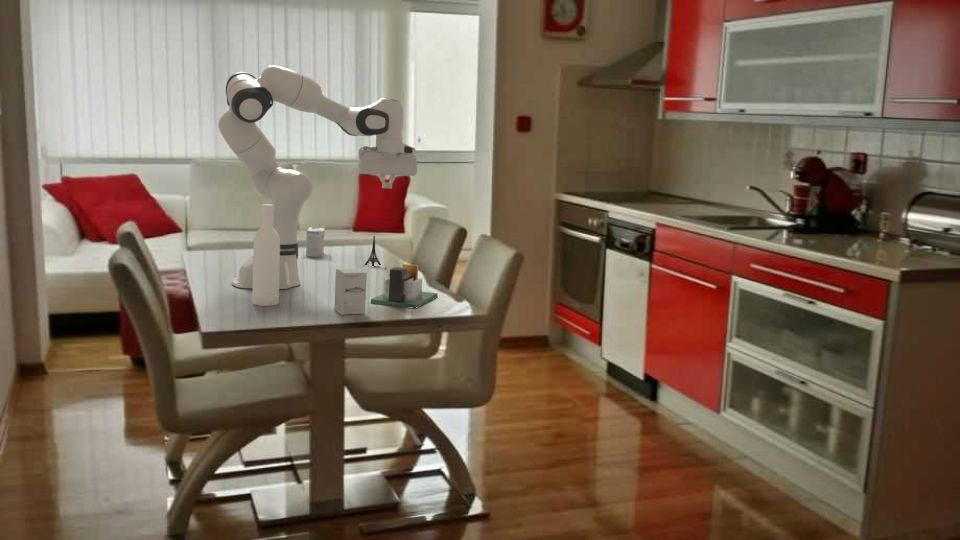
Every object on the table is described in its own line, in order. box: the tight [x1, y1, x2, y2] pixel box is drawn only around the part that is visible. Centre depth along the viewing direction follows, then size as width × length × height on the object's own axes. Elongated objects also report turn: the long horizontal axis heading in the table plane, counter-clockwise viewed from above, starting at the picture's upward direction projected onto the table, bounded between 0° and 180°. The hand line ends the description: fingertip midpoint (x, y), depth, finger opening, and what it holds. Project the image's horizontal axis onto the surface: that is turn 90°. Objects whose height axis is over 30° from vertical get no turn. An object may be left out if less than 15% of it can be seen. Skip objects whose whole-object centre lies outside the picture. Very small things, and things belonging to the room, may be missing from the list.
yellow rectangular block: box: [402, 263, 419, 281], centre depth 276 cm, size 11×5×8 cm, turn 164°
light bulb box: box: [305, 226, 325, 258], centre depth 357 cm, size 11×7×11 cm, turn 6°
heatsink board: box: [370, 266, 439, 309], centre depth 278 cm, size 21×15×11 cm
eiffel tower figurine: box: [363, 235, 381, 266], centre depth 339 cm, size 15×10×13 cm
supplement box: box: [333, 268, 368, 316], centre depth 255 cm, size 7×7×13 cm
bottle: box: [251, 203, 280, 307], centre depth 258 cm, size 8×8×30 cm
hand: (386, 188), depth 292 cm, fingers closed
